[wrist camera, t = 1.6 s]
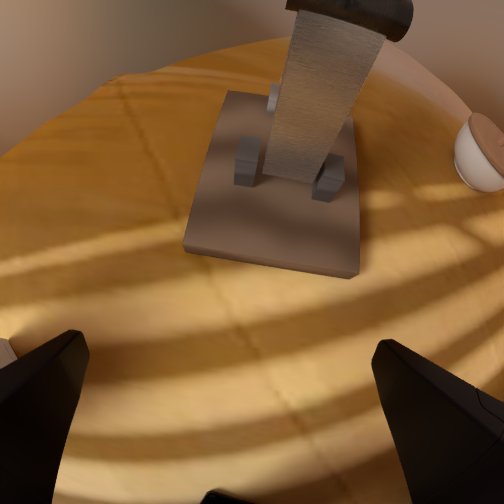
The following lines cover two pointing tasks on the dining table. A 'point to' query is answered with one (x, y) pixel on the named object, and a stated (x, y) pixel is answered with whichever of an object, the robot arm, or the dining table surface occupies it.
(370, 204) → the dining table surface
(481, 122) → the lidded jar
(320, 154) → the lever
